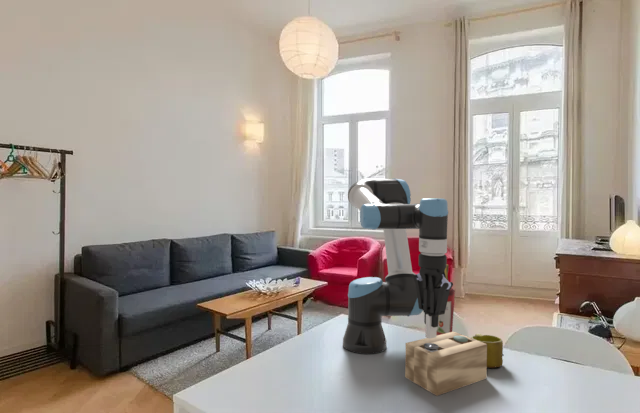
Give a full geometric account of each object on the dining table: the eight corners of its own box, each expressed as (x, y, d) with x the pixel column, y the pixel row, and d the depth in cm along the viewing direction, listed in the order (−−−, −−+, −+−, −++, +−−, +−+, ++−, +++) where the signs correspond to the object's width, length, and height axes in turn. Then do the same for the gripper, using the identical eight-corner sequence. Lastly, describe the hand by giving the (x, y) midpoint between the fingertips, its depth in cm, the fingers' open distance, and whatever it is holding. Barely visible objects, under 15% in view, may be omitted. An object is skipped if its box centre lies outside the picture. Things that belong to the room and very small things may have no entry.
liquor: (429, 342, 139) (431, 265, 138) (436, 337, 145) (437, 262, 144) (450, 347, 134) (451, 267, 134) (456, 341, 140) (457, 264, 140)
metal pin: (420, 376, 109) (420, 344, 109) (430, 373, 111) (431, 342, 111) (431, 382, 106) (431, 349, 106) (441, 378, 108) (441, 346, 108)
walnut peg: (449, 367, 115) (450, 337, 115) (459, 364, 117) (459, 334, 117) (460, 372, 112) (461, 341, 112) (470, 369, 114) (470, 339, 114)
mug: (513, 367, 115) (501, 333, 117) (478, 374, 117) (467, 340, 119) (505, 358, 126) (494, 328, 129) (473, 365, 128) (463, 335, 131)
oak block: (405, 377, 112) (405, 343, 112) (453, 362, 122) (453, 331, 122) (436, 395, 101) (437, 358, 101) (486, 378, 111) (487, 344, 111)
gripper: (406, 251, 112) (404, 332, 112) (441, 258, 100) (439, 347, 101) (425, 249, 115) (423, 327, 116) (460, 256, 104) (458, 342, 105)
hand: (430, 336), depth 109 cm, fingers closed
